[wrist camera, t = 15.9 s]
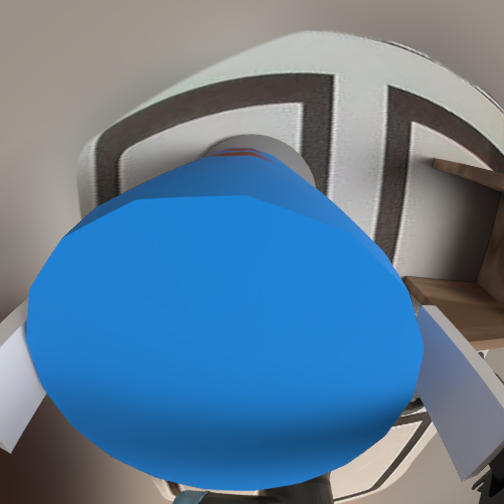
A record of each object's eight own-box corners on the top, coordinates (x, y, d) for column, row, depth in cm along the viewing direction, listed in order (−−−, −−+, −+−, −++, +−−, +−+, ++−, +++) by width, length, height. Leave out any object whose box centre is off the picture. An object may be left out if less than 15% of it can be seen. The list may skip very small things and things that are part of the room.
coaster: (303, 263, 33) (305, 266, 32) (186, 250, 33) (184, 253, 32) (323, 144, 28) (325, 144, 28) (194, 129, 28) (193, 129, 27)
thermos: (284, 258, 32) (337, 493, 9) (184, 243, 31) (73, 456, 8) (305, 156, 28) (494, 240, 5) (197, 139, 28) (-5, 161, 4)
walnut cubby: (479, 290, 35) (534, 341, 22) (403, 284, 34) (460, 352, 21) (508, 186, 29) (580, 214, 16) (433, 158, 28) (519, 178, 15)
